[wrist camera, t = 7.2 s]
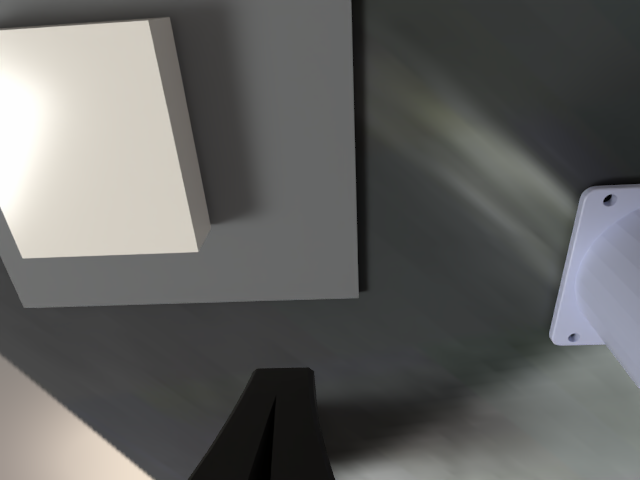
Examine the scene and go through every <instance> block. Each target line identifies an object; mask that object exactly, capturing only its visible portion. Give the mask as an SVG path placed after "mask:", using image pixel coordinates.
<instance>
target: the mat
mask: <svg viewBox="0 0 640 480" xmlns="http://www.w3.org/2000/svg"><path fill="white" fill-rule="evenodd" d="M162 17H170V21H171V26H172V31H173V36H174V41H175V46H176V52H177V57H178V62H179V67H180V72H181V77H182V82H183V87H184V92H185V97H186V103H187V108H188V113H189V118H190V123H191V128H192V133H193V138H194V143H195V148H196V154H197V159H198V164H199V169H200V174H201V179H202V184H203V189H204V194H205V199H206V205H207V210H208V215H209V220H210V225H211V229H210V231H209V233H208V235H207V237H206V239H205V241H204V243H203V244H202V246H201V248H200V250H199V252H186V253H159V254H131V255H104V256H77V257H49V258H22V256H21V254H20V251H19V249H18V247H17V244H16V242H15V240H14V237H13V235H12V233H11V230H10V228H9V226H8V224H7V221H6V219H5V217H4V214H3V212H2V210H1V207H0V256H1V259H2V261H3V263H4V265H5V267H6V269H7V272H8V274H9V276H10V278H11V280H12V283H13V285H14V287H15V289H16V291H17V293H18V296H19V298H20V300H21V302H22V304H23V307H24V308H42V307H75V306H109V305H142V304H175V303H209V302H242V301H275V300H309V299H342V298H359V288H358V248H357V208H356V169H355V129H354V90H353V50H352V10H351V0H0V28H14V27H29V26H44V25H59V24H73V23H88V22H103V21H118V20H133V19H147V18H162Z"/></svg>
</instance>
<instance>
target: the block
mask: <svg viewBox="0 0 640 480" xmlns="http://www.w3.org/2000/svg"><path fill="white" fill-rule="evenodd" d="M0 207H1V210H2V212H3V214H4V217H5V219H6V221H7V224H8V226H9V228H10V230H11V233H12V235H13V237H14V240H15V242H16V244H17V247H18V249H19V251H20V254H21V256H22V258H49V257H77V256H104V255H131V254H159V253H186V252H199V250H200V248H201V246H202V244H203V243H204V241H205V239H206V237H207V235H208V233H209V231H210V229H211V225H210V220H209V215H208V210H207V205H206V199H205V194H204V189H203V184H202V179H201V174H200V169H199V164H198V159H197V154H196V148H195V143H194V138H193V133H192V128H191V123H190V118H189V113H188V108H187V103H186V97H185V92H184V87H183V82H182V77H181V72H180V67H179V62H178V57H177V52H176V46H175V41H174V36H173V31H172V26H171V21H170V17H162V18H147V19H133V20H118V21H103V22H88V23H73V24H59V25H44V26H29V27H14V28H0Z"/></svg>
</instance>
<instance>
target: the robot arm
mask: <svg viewBox="0 0 640 480" xmlns="http://www.w3.org/2000/svg"><path fill="white" fill-rule="evenodd" d="M610 194H612V197H611V199H610V200H609V201H607V202H604V203H603V200H604V198H605V197H606V196H608V195H610ZM574 333H575V334H574ZM571 334H574V335H573V336H570V335H571ZM549 337H550V338H551V340H552V342H553V343H554V344H556V345H600V344H606V346H607V347H608V348H609V349H610V351H611V352H612V353H613V355H614V356H615V357H616V359H617V360H618V361H619V363H620V364H621V365H622V367H623V368H624V369H625V371H626V372H627V373H628V375H629V376H630V377H631V379H632V380H633V381H634V383H635V384H636V385H637V386H638V388H639V389H640V184H627V185H604V186H593V187H589V188H588V189H586V190H585V191H584V192H583V193H582V195H581V197H580V200H579V205H578V209H577V213H576V218H575V222H574V227H573V231H572V235H571V240H570V244H569V249H568V253H567V257H566V262H565V266H564V270H563V275H562V279H561V284H560V288H559V292H558V297H557V301H556V306H555V310H554V314H553V319H552V323H551V328H550V332H549ZM188 480H335V478H334V475H333V472H332V469H331V466H330V462H329V459H328V456H327V452H326V448H325V445H324V441H323V437H322V433H321V430H320V425H319V421H318V411H317V400H316V389H315V378H314V371H313V370H311V369H310V368H267V369H256V370H255V371H254V372H253V373H252V375H251V377H250V379H249V381H248V383H247V385H246V387H245V389H244V391H243V393H242V395H241V397H240V399H239V400H238V402H237V404H236V406H235V407H234V409H233V411H232V413H231V414H230V416H229V418H228V419H227V421H226V423H225V424H224V426H223V427H222V429H221V431H220V432H219V434H218V436H217V437H216V439H215V440H214V442H213V444H212V445H211V447H210V448H209V450H208V451H207V453H206V454H205V456H204V457H203V459H202V460H201V462H200V463H199V464H198V466H197V467H196V469H195V470H194V472H193V473H192V474H191V476H190V477H189V479H188Z"/></svg>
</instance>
